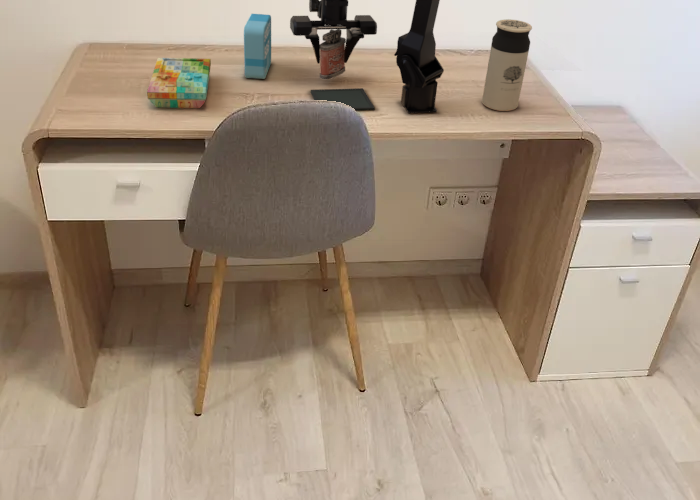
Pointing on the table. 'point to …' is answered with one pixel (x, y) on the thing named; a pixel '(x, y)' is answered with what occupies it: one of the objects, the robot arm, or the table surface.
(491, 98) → the travel mug
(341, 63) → the lighter
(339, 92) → the desk mat
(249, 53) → the data package
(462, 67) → the table surface
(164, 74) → the puzzle game
